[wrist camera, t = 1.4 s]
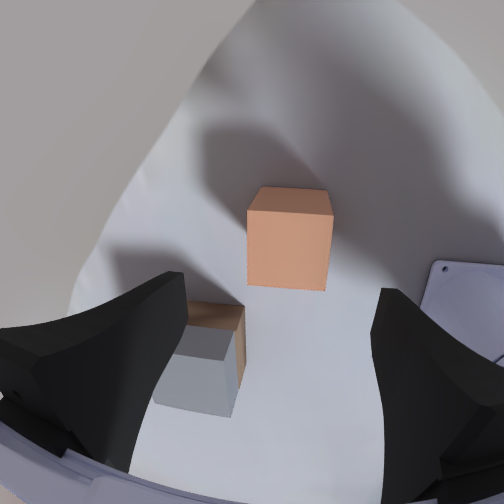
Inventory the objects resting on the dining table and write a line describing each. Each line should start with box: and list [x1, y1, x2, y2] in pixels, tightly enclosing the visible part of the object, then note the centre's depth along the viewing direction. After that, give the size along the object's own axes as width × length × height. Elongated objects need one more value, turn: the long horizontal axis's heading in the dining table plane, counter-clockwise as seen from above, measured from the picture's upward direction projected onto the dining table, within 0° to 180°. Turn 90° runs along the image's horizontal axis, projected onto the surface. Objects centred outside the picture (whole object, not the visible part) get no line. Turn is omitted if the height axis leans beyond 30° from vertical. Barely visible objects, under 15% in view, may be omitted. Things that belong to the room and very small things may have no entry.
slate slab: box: [152, 325, 239, 418], centre depth 21 cm, size 6×6×3 cm
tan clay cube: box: [247, 187, 334, 291], centre depth 17 cm, size 4×4×5 cm
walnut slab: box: [186, 300, 246, 389], centre depth 23 cm, size 6×6×3 cm
